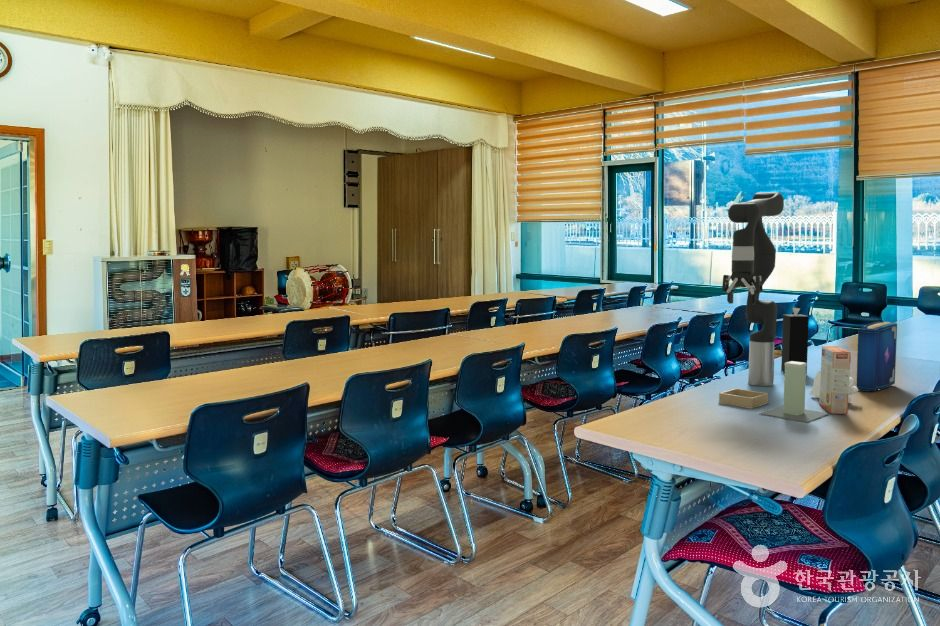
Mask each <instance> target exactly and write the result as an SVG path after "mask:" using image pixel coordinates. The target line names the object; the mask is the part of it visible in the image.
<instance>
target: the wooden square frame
mask: <svg viewBox="0 0 940 626" xmlns="http://www.w3.org/2000/svg"><path fill="white" fill-rule="evenodd" d="M718 395H719V396H718V403H719V404H723V403H724V405H729V404H730V406H735V405H736V406H735V407H740V406H742V408H746V407H747V409H753V408H754V407H755V408H757V406H758V407H760V405H761V406H764V405H767V404H769V392H768V393H767V392H761V391H755V390H748V389H742V388H733V389H730V390H729V389H728V390H725V391H722V392H719V394H718ZM766 403H767V404H766ZM763 404H764V405H763Z"/></svg>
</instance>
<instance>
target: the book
mask: <svg viewBox="0 0 940 626" xmlns="http://www.w3.org/2000/svg"><path fill="white" fill-rule="evenodd" d="M897 333H898V323H897V322H890V321H886V322H884V321H883V322H882V321H880V320H879V321H873V322H870V323H867V324H865V325H864V326H861V327H860V328H858V329H857V359H856V363H857V364H856V368H857V369H856V387H857V388H858V391H861V390H862V392H868V391H872V392H874V391H878V389H882V390H884V389H887V388H890V386H892V385H895V384H896V366H897V365H896V364H897V362H896V361H897V337H898V334H897ZM886 387H887V388H886ZM883 388H884V389H883Z"/></svg>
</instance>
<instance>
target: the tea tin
mask: <svg viewBox="0 0 940 626" xmlns="http://www.w3.org/2000/svg"><path fill="white" fill-rule="evenodd" d="M806 366H807V367H808V362H807V363H804V362H795V361H790V362H786V363H785V373H784V380H783V383H784V385H783V386H784V387H783V406H784V408H783V413H785V414H791V415H797V416H798V415H801V414H804V410H805V406H806V380H807V379H806V376H807V374H806Z"/></svg>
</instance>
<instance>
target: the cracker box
mask: <svg viewBox="0 0 940 626" xmlns="http://www.w3.org/2000/svg"><path fill="white" fill-rule="evenodd" d="M851 355H852V352H850V351H848V350H847V349H844V348H842V347H840V346H838V345H822V346H821V359H820V360H821V361H820V371H821V379H820V398H818V401H819V402H818V403H819V406H820V405H821V406H820V407H821V408H823V409H824V410H825V411H826V410H827V413H829V414H830V413H832V414H833V415H848V413H849V403H848V398H849V397H850V395H849V379H850V377H851V376H850V375H851V373H850V372H851V361H852V360H851V359H852V357H851Z"/></svg>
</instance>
